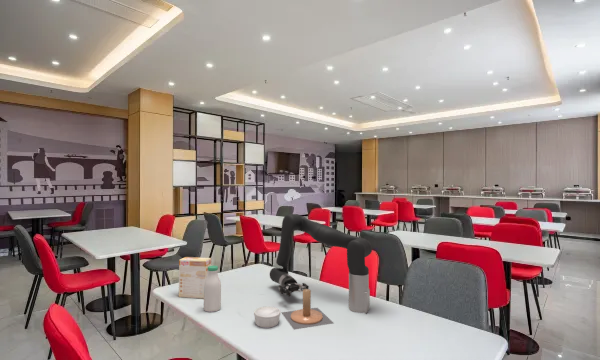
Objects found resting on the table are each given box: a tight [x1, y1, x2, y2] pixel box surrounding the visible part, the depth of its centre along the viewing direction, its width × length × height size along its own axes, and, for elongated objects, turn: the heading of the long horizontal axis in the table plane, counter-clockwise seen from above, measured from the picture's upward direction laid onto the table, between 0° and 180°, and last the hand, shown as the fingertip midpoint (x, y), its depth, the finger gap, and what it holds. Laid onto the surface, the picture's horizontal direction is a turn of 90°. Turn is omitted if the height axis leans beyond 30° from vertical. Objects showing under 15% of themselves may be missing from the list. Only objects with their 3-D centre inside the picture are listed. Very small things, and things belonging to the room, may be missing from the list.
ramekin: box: [253, 306, 281, 329], centre depth 136 cm, size 11×11×5 cm
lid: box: [291, 289, 323, 325], centre depth 141 cm, size 14×14×12 cm
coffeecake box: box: [178, 256, 212, 300], centre depth 168 cm, size 15×7×20 cm, turn 80°
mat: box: [280, 307, 334, 331], centre depth 141 cm, size 18×18×1 cm
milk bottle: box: [203, 265, 222, 313], centre depth 151 cm, size 8×8×20 cm
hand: (298, 293), depth 152 cm, fingers open, 8 cm apart
